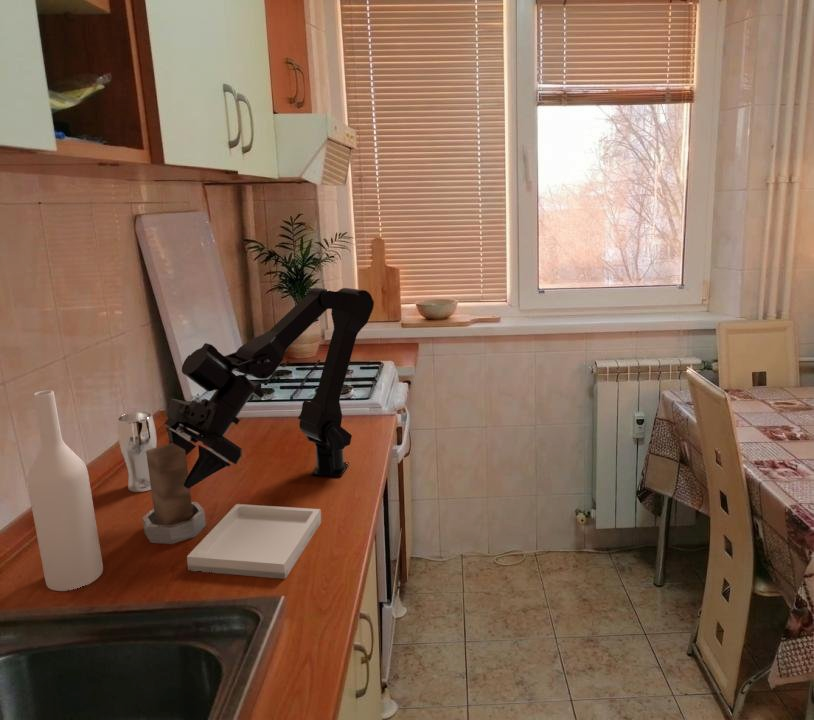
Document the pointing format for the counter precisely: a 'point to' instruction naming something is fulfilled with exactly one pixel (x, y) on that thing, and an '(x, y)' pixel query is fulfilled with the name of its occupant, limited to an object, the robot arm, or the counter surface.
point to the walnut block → (169, 484)
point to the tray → (256, 541)
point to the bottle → (62, 506)
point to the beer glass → (137, 447)
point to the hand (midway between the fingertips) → (173, 479)
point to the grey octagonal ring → (174, 527)
